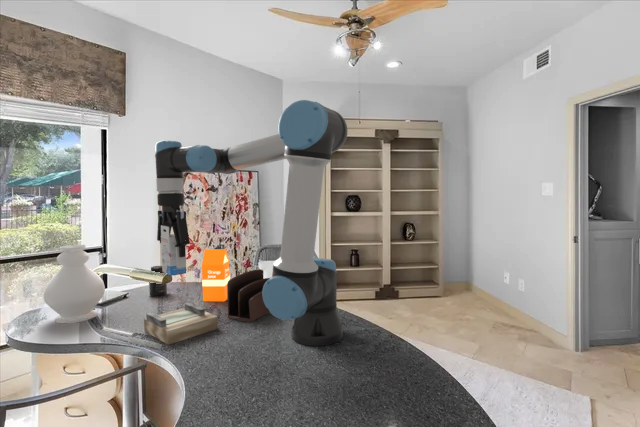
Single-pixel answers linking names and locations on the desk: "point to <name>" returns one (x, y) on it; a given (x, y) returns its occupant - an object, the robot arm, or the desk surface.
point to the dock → (180, 324)
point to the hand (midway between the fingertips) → (173, 265)
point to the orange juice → (215, 274)
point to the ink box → (169, 253)
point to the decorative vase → (74, 287)
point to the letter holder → (246, 296)
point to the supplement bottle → (157, 285)
